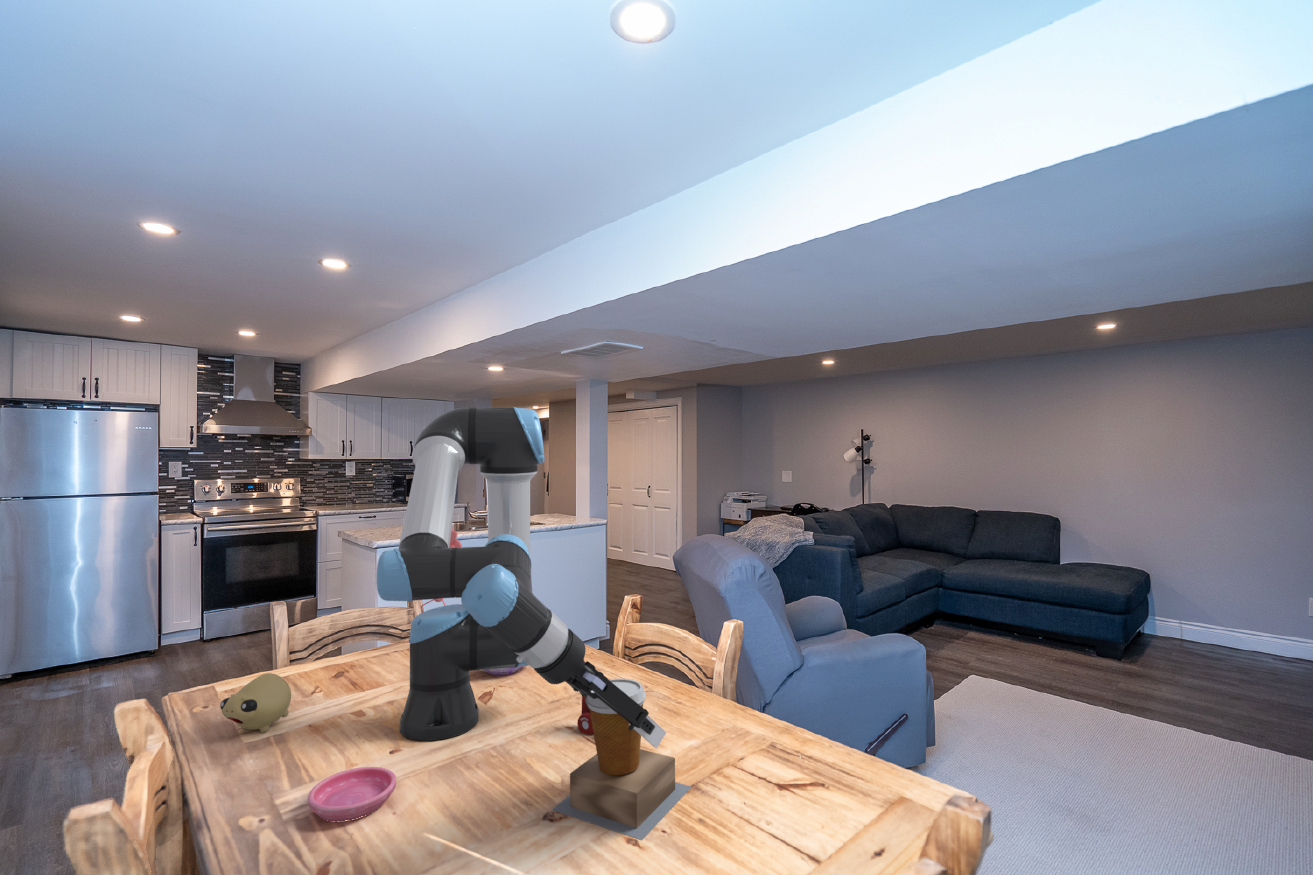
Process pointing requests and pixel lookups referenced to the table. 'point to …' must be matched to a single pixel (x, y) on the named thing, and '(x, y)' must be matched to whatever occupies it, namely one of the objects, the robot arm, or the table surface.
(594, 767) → the pedestal
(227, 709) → the green toy animal
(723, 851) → the table surface
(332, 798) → the saucer
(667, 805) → the mat
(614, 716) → the disposable coffee cup
